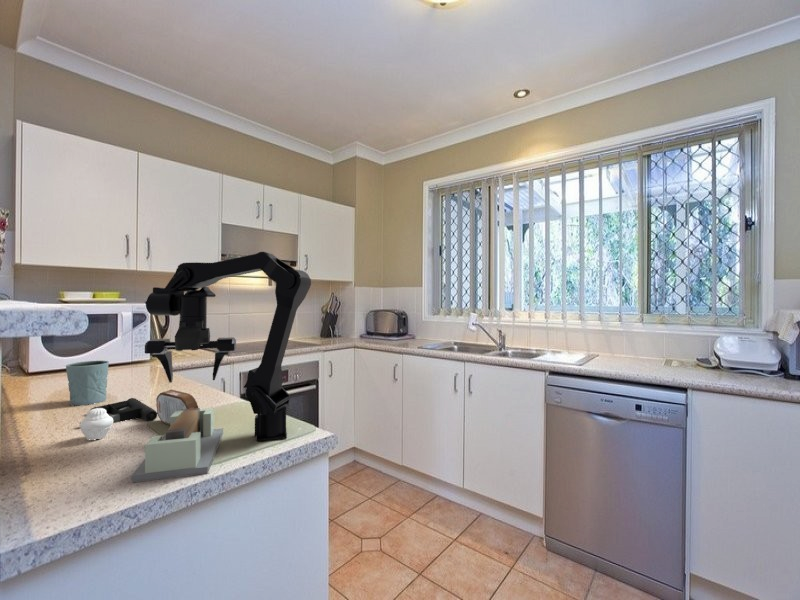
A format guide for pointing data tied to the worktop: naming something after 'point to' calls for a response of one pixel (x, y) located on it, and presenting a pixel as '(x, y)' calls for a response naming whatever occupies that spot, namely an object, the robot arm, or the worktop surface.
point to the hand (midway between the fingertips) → (192, 381)
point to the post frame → (180, 452)
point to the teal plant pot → (87, 382)
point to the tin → (173, 404)
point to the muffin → (96, 424)
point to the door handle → (129, 410)
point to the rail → (185, 424)
